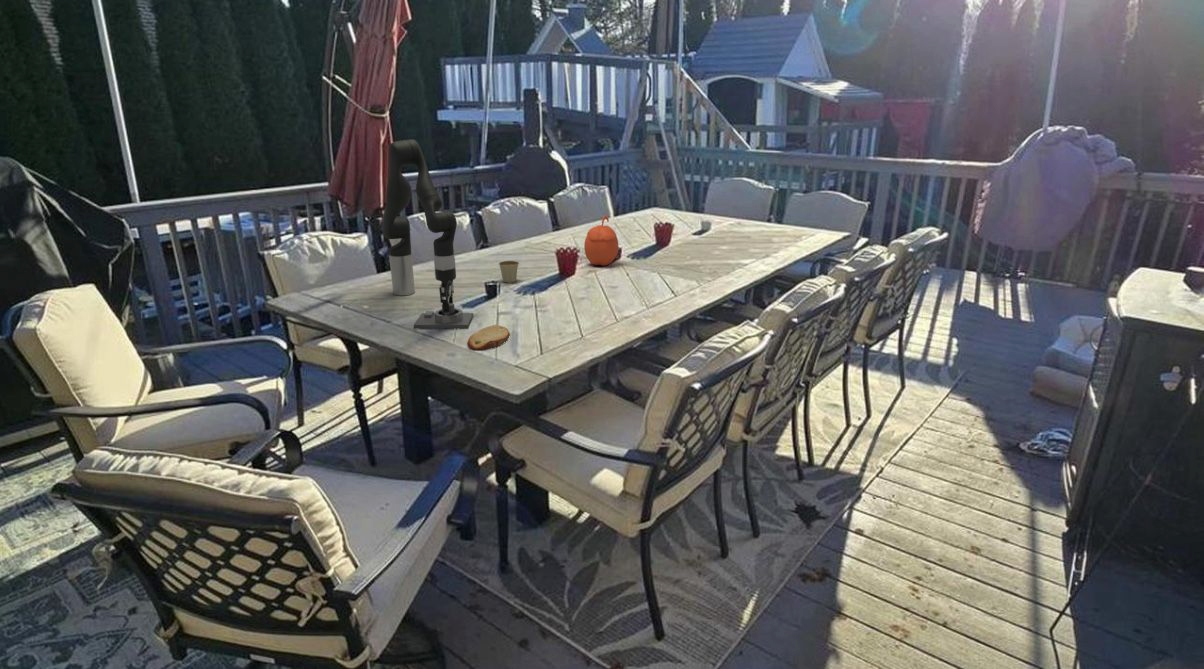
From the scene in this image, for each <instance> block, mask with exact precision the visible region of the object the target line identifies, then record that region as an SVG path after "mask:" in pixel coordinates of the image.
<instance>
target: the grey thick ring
mask: <svg viewBox="0 0 1204 669" xmlns="http://www.w3.org/2000/svg"><path fill="white" fill-rule="evenodd" d="M454 309H455V315H442V308H440V309H438V310H435V311H434V314H435V321H436V322H437V323H440V324H453V323H458V322H460V321H462V319H463V313H464V312H463V310H462V309H460V308H457V307H454Z"/></svg>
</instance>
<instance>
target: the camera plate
mask: <svg viewBox="0 0 1204 669" xmlns="http://www.w3.org/2000/svg"><path fill="white" fill-rule="evenodd" d="M434 313H435V311H434V310H426V311H425V312H421V313H420V315H419V317H418V318H417V319H416V321H415V322H414V324H413V329H414V328H422V329H421V330H435V329H436V330H437V329H438V330H440V329H441V330H443V328H456V330H462V329H463V330H465V329H466V330H468V329H469V328H470V326H471V323H472V321H473V319H474V317H475V316H474V312H462V313H463V319H462V321H460V322H458V323H453V324H440V323H437V322H436V321H435V314H434ZM457 328H459V329H457Z"/></svg>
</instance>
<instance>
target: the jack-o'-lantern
mask: <svg viewBox="0 0 1204 669" xmlns="http://www.w3.org/2000/svg"><path fill="white" fill-rule="evenodd" d="M605 220H606V221H607V223H609V221H610V220H609V217H608V216H607V215H604V216H603V218H602V220H601V224H599V225H598V224H597V225H596V226H594V227H591V228H590V229H589V230H588V231H587V234H586V237H585V239H584V254H585V256H586V258H587V261H589V262H590V263H591V264H592V265H594V266H603V267H604V266H608V265H609V264H611V263H612V262H613V261H614V260H615V258H616V257H617V255H618V252H619V240H618V237H617V233H616V231H615V230H614V229H613V228H612V227H610V226H609V225H604V222H605Z"/></svg>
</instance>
